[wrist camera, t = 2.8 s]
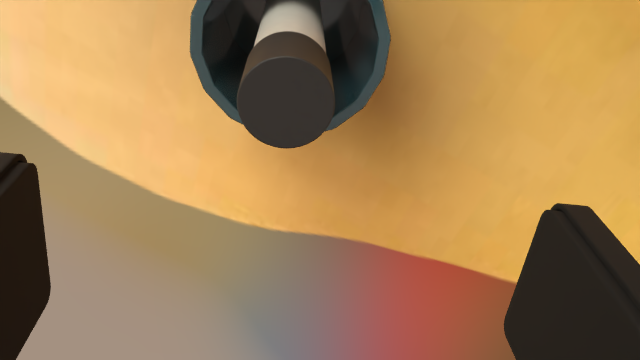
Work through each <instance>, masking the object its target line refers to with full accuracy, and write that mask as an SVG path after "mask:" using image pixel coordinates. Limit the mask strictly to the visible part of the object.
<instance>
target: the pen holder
mask: <svg viewBox="0 0 640 360" xmlns="http://www.w3.org/2000/svg"><path fill="white" fill-rule="evenodd" d="M265 4H266V0H197V1H196V4H195V6H194V8H193V10H192V12H191V23H190V55H191V58H192V61H193V63H194V66H195V68H196V71H197V73H198V76H199V79H200V81H201V84H202V86H203V89H204V90H205V92H206V93H207V94H208V95H209V96H210V97H211V98H212V99H213V100H214V101H215V102H216V104H217V105H218V106H219V107H220V108H221V109H222V110H223V111H224V112H225V113H226V114H227V115H228V116H229V117H230V118H231V119H233V120H235V121H237V122H239V123H241V124H243V123H242V121H241V119H240V117H239V113H238V109H237V93H238V89H239V85H240V82H241V79H242V75H243V72H244V68H245V65H246V62H247V58H248V56H249V54H250V52H251V50H252V49H253V47H254V44H255V40H256V37H257V33H258V29H259V26H260V22H261V18H262V15H263V11H264V8H265ZM320 7H321V15H322V23H323V32H324V40H325V48H326V55H327V57H328V59H329V62H330V67H331V73H332V81H333V88H334V96H335V110H334V114H333V117H332V120H331V122H330V124H329V126H328V127H327V129H326V130H325V131H328V130H332V129H334V128H336V127H338V126H339V125H340V124H342V123H343V122H345V121H346V120H347V119H349V118H350V117H352V116H353V115H354V114H356V113H357V112H358V111H360V110H361V109H363V107H365V105H366V104H367V102H368V101H369V99H370V97H371V96H372V94H373V93H374V91H375V90H376V88H377V86H378V85H379V83H380V82H381V80H382V79H383V77H384V74H385V69H386V64H387V58H388V53H389V47H390V42H391V35H390V30H389V26H388V21H387V17H386V12H385V8H384V3H383V0H320ZM243 125H244V124H243Z"/></svg>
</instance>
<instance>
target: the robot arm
mask: <svg viewBox="0 0 640 360" xmlns="http://www.w3.org/2000/svg"><path fill="white" fill-rule="evenodd" d="M50 288H51V286H50V275H49V266H48V258H47V249H46V241H45V232H44V224H43V215H42V206H41V198H40V190H39V180H38V172H37V168H36V166H35V165H34V164H33V163H27V160H26V158H25V157H24V156H23V155H22V154H13V153H1V152H0V360H16V358H17V356H18V355H19V353H20V351H21V349H22V347H23V346H24V344H25V342H26V341H27V339H28V337H29V335H30V333H31V332H32V330H33V328H34V326H35V325H36V322H37V321H38V319H39V318H40V316H41V314H42V312H43V310H44V309H45V307H46V305H47V303H48V300H49V296H50ZM504 331H505V335H506V338H507V340H508V343H509V345H510V347H511V349H512V352H513V354H514V356H515V358H516V360H640V265H639V263H638V262H637V261H636V260H635V259H634V258H633V256H632V255H631V254H630V253H629V252H628V251H627V250H626V248H625V247H624V246H623V245H622V244H621V243H620V241H619V240H618V239H617V238H616V237H615V236H614V234H613V233H612V232H611V231H610V230H609V229H608V228H607V226H606V225H605V224H604V223H603V222H602V221H601V219H600V218H599V217H598V216H597V215H596V214H595V213H594V211H593V210H592V209H591V208H590V207H588V206H581V205H570V204H559V203H557V204H555V205H554V206H553V207H552V208H551V210H546V211H544V212H543V213H542V215H541V218H540V220H539V223H538V226H537V229H536V232H535V234H534V237H533V240H532V243H531V246H530V248H529V251H528V254H527V257H526V260H525V263H524V265H523V268H522V271H521V274H520V277H519V279H518V282H517V285H516V288H515V291H514V294H513V297H512V299H511V302H510V305H509V308H508V311H507V314H506V316H505V321H504Z"/></svg>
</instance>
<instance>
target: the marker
mask: <svg viewBox="0 0 640 360" xmlns="http://www.w3.org/2000/svg"><path fill="white" fill-rule="evenodd" d="M237 109H238V113H239V117H240V119H241V121H242V123H243V124H244V126H245V128H246V129H247V130H248V131H249V132H250V133H251V134H252V135H253V136H254V137H255V138H257V139H258V140H260V141H261V142H263V143H265V144H267V145H270V146H273V147H278V148H295V147H300V146H303V145H306V144H308V143H310V142H312V141H314V140H315V139H317V138H318V137H319V136H320V135H321V134H322V133H323V132H324V131H325V130H326V129H327V127H328V126H329V124H330V122H331V120H332V117H333V114H334V110H335V96H334V88H333V81H332V73H331V67H330V62H329V59H328V57H327V55H326V48H325V40H324V32H323V23H322V15H321V7H320V0H266V4H265V8H264V11H263V15H262V18H261V22H260V26H259V29H258V33H257V37H256V40H255V44H254V47H253V49H252V50H251V52H250V54H249V56H248V58H247V62H246V65H245V68H244V72H243V75H242V79H241V82H240V85H239V89H238V93H237Z"/></svg>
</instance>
